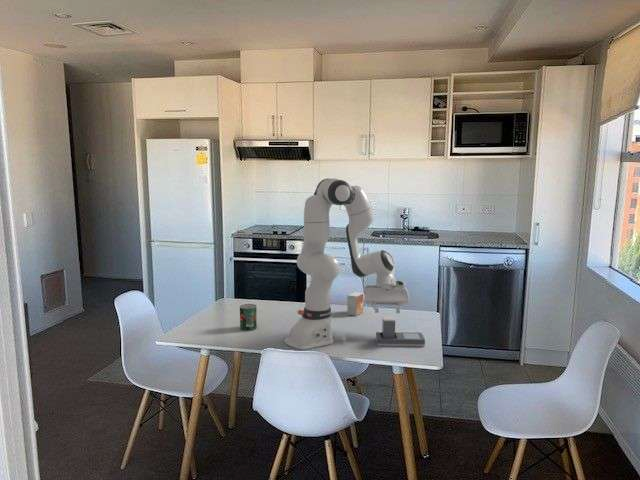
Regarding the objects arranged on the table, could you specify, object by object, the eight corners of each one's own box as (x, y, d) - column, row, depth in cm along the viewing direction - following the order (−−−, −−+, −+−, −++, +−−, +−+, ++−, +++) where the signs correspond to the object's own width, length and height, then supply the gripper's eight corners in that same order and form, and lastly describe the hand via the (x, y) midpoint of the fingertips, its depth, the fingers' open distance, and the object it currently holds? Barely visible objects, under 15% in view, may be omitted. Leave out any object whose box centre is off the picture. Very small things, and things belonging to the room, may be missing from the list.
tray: (378, 338, 218) (379, 337, 218) (377, 331, 228) (377, 330, 228) (401, 339, 218) (401, 337, 218) (398, 331, 228) (398, 330, 228)
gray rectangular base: (377, 346, 208) (377, 339, 208) (375, 339, 217) (376, 332, 217) (424, 347, 208) (425, 339, 207) (421, 340, 217) (421, 332, 216)
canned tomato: (236, 328, 231) (236, 306, 230) (249, 324, 237) (249, 302, 235) (247, 332, 226) (246, 309, 224) (260, 328, 232) (259, 306, 230)
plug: (383, 342, 210) (383, 319, 209) (382, 338, 215) (382, 316, 214) (394, 342, 210) (395, 319, 208) (393, 338, 215) (394, 316, 213)
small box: (356, 316, 251) (356, 296, 249) (346, 314, 254) (347, 295, 252) (363, 312, 258) (363, 293, 256) (354, 310, 261) (354, 291, 259)
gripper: (363, 281, 223) (364, 308, 215) (408, 282, 222) (411, 309, 214) (363, 288, 228) (363, 315, 220) (407, 289, 227) (409, 316, 219)
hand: (387, 312), depth 217 cm, fingers open, 8 cm apart
